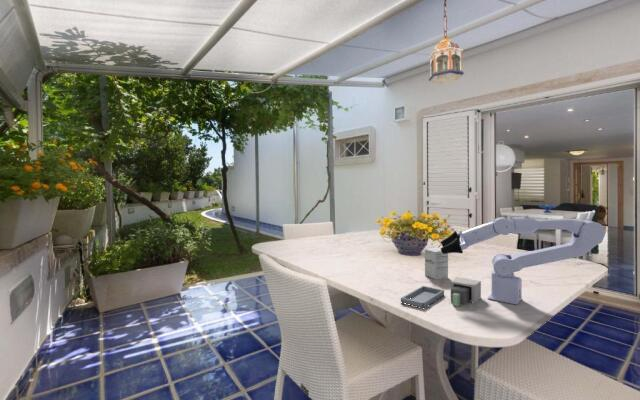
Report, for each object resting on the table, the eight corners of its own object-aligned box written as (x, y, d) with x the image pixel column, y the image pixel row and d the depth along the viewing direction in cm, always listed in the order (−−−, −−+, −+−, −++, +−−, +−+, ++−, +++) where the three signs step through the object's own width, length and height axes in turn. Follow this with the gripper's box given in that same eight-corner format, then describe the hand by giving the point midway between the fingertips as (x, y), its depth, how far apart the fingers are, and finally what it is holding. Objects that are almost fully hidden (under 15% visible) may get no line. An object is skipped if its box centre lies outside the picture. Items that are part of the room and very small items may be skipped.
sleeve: (474, 303, 118) (474, 285, 117) (450, 298, 123) (450, 281, 123) (480, 297, 123) (480, 281, 122) (457, 293, 128) (457, 277, 128)
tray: (444, 295, 126) (444, 290, 126) (423, 309, 113) (423, 303, 113) (422, 290, 132) (422, 285, 132) (400, 303, 119) (400, 297, 119)
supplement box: (424, 275, 153) (424, 248, 152) (437, 273, 155) (437, 247, 155) (435, 280, 146) (435, 251, 145) (448, 278, 148) (448, 250, 148)
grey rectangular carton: (461, 307, 114) (461, 293, 113) (448, 304, 117) (448, 290, 117) (472, 299, 121) (472, 286, 121) (459, 296, 124) (459, 283, 124)
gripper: (470, 220, 130) (437, 232, 136) (473, 231, 117) (436, 245, 122) (478, 236, 130) (445, 248, 136) (482, 249, 117) (445, 261, 123)
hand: (441, 247), depth 129 cm, fingers open, 7 cm apart
